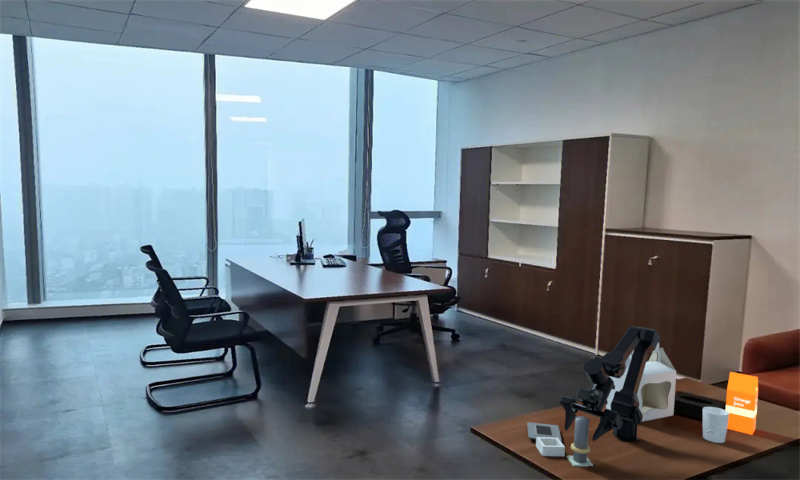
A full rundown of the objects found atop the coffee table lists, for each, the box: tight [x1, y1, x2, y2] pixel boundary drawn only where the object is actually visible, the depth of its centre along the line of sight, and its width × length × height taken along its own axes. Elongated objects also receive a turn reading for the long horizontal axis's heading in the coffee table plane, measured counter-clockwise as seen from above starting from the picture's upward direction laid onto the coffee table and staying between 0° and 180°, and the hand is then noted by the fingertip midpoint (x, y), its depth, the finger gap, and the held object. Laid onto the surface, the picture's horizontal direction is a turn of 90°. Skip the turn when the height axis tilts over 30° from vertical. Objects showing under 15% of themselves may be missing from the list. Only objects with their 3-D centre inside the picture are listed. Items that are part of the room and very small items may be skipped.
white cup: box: [702, 406, 729, 444], centre depth 188 cm, size 8×8×10 cm
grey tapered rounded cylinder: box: [570, 415, 591, 463], centre depth 167 cm, size 6×6×13 cm
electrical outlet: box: [526, 422, 563, 442], centre depth 186 cm, size 13×10×2 cm
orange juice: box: [725, 371, 759, 436], centre depth 199 cm, size 8×9×20 cm
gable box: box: [605, 342, 677, 423], centre depth 210 cm, size 22×13×28 cm, turn 116°
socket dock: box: [535, 437, 566, 457], centre depth 174 cm, size 7×7×3 cm
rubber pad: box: [566, 455, 594, 467], centre depth 168 cm, size 6×6×1 cm
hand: (578, 435), depth 166 cm, fingers open, 9 cm apart
